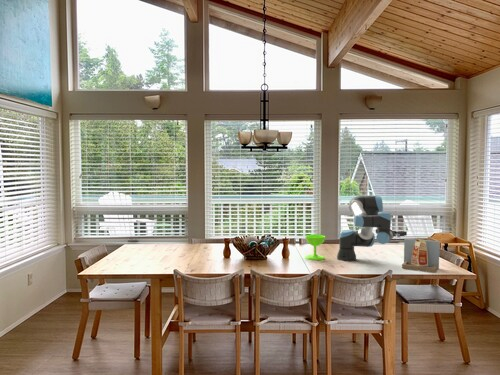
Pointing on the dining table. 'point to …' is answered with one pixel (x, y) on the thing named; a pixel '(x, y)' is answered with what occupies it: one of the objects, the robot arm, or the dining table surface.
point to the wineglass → (315, 241)
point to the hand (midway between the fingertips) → (393, 230)
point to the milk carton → (420, 253)
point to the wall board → (431, 251)
